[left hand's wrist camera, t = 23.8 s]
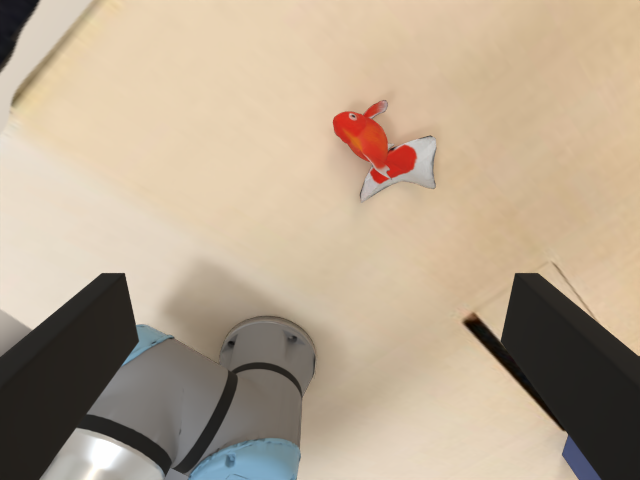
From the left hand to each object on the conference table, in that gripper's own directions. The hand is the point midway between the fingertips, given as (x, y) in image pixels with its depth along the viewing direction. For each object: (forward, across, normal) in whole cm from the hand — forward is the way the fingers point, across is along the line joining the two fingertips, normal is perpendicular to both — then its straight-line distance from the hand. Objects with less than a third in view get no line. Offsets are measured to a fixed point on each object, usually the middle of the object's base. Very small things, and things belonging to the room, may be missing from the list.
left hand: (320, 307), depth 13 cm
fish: (+39, -8, 0) cm, 40 cm away
